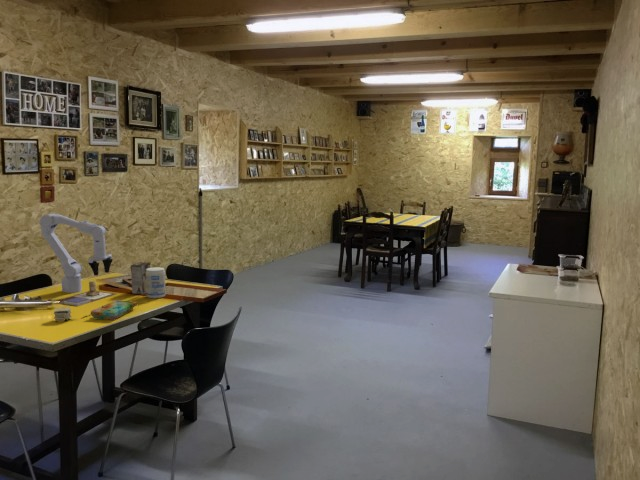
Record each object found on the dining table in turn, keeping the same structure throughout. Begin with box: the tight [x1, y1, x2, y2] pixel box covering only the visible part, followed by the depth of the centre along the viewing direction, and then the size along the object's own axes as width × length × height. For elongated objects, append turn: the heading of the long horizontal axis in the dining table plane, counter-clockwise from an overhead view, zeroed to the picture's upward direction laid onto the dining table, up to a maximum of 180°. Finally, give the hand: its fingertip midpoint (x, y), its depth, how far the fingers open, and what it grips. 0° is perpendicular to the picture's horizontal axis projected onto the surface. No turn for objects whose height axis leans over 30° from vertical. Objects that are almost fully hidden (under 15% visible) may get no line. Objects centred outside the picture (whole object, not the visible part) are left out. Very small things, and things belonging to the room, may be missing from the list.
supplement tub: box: [145, 266, 166, 299], centre depth 282 cm, size 10×10×15 cm
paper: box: [73, 291, 112, 300], centre depth 280 cm, size 14×12×1 cm
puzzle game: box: [90, 299, 139, 321], centre depth 251 cm, size 12×5×20 cm
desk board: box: [55, 290, 117, 308], centre depth 275 cm, size 18×27×1 cm, turn 158°
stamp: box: [85, 280, 99, 297], centre depth 279 cm, size 5×4×7 cm
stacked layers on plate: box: [53, 306, 72, 322], centre depth 240 cm, size 10×9×6 cm
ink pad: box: [64, 298, 92, 307], centre depth 265 cm, size 9×8×2 cm
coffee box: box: [130, 261, 151, 297], centre depth 288 cm, size 9×6×16 cm
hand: (101, 273), depth 288 cm, fingers open, 7 cm apart
